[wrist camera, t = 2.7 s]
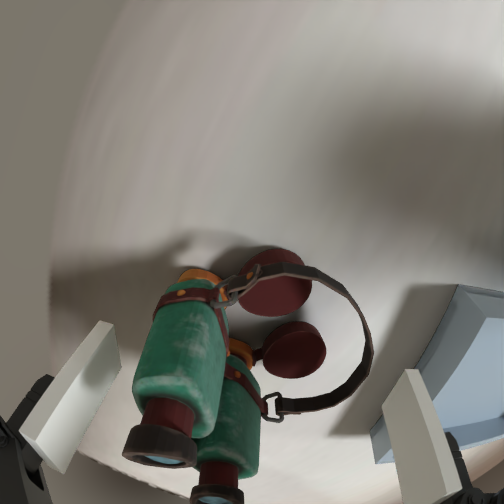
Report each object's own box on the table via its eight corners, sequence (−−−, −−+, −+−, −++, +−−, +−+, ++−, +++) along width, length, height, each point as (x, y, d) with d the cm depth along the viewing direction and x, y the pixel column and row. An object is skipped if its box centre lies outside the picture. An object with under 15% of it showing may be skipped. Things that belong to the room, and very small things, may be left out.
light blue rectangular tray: (458, 284, 14) (486, 317, 11) (577, 305, 14) (595, 324, 10) (369, 431, 20) (375, 464, 17) (506, 412, 20) (516, 433, 17)
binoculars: (409, 488, 8) (186, 523, 9) (354, 343, 17) (206, 378, 19) (457, 349, 4) (46, 419, 5) (331, 209, 14) (147, 262, 15)
